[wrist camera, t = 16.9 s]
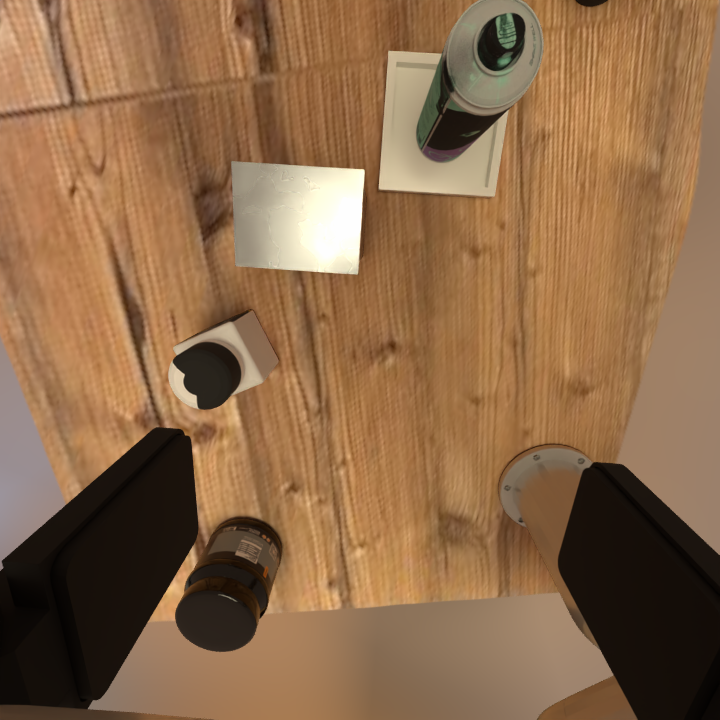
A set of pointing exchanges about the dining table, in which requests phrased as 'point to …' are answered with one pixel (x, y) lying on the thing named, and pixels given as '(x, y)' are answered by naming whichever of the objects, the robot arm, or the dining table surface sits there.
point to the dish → (399, 144)
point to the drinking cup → (591, 2)
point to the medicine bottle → (221, 362)
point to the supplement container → (230, 586)
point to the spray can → (479, 76)
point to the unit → (298, 217)
